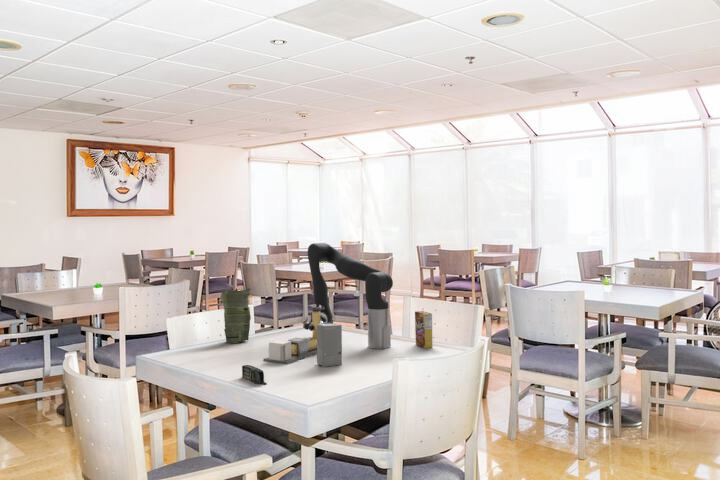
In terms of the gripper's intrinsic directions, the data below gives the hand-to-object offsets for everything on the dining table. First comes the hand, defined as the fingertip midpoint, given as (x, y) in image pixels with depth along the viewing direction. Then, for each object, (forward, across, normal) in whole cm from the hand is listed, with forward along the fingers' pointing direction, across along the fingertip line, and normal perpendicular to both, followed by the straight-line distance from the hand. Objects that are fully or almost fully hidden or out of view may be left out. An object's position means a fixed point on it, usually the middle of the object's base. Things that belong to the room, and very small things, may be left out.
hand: (315, 328), depth 262 cm
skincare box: (+26, +7, +10) cm, 29 cm away
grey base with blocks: (+8, -6, +9) cm, 14 cm away
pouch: (-21, -39, +10) cm, 46 cm away
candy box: (-7, +48, +10) cm, 49 cm away
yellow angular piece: (+4, -4, +9) cm, 10 cm away
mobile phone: (+50, -18, +10) cm, 54 cm away
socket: (+20, -13, +9) cm, 25 cm away
